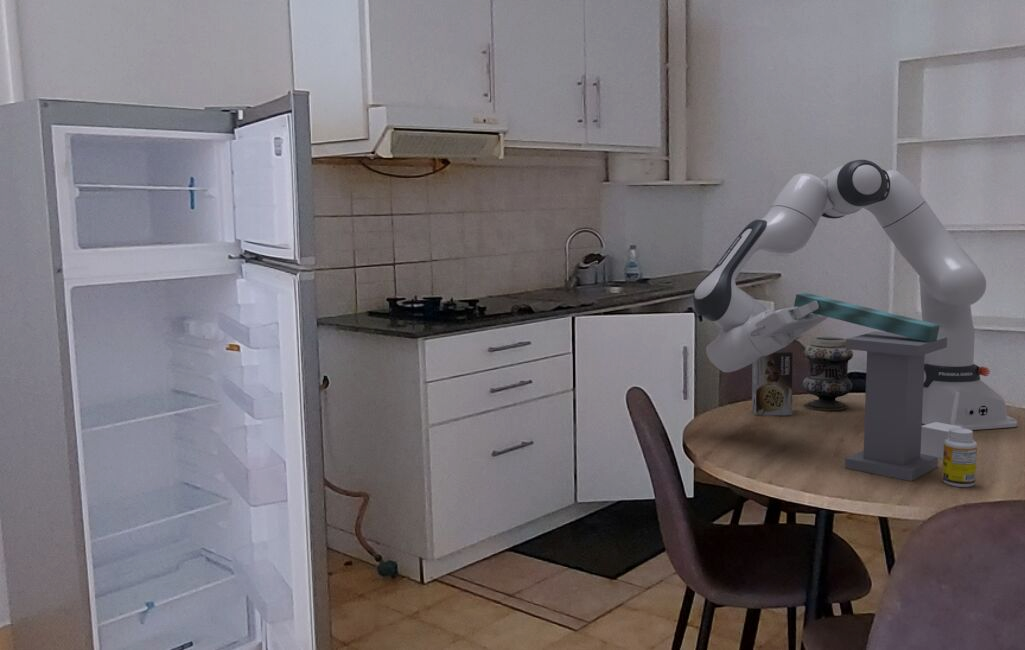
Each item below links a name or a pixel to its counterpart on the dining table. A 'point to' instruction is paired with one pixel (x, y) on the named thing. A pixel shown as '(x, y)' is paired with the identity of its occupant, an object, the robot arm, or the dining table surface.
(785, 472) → the dining table surface
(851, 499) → the dining table surface
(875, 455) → the pedestal
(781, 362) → the coffee box
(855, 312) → the teal block
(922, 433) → the grey cube piece
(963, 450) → the supplement bottle
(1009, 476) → the dining table surface
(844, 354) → the apothecary jar
